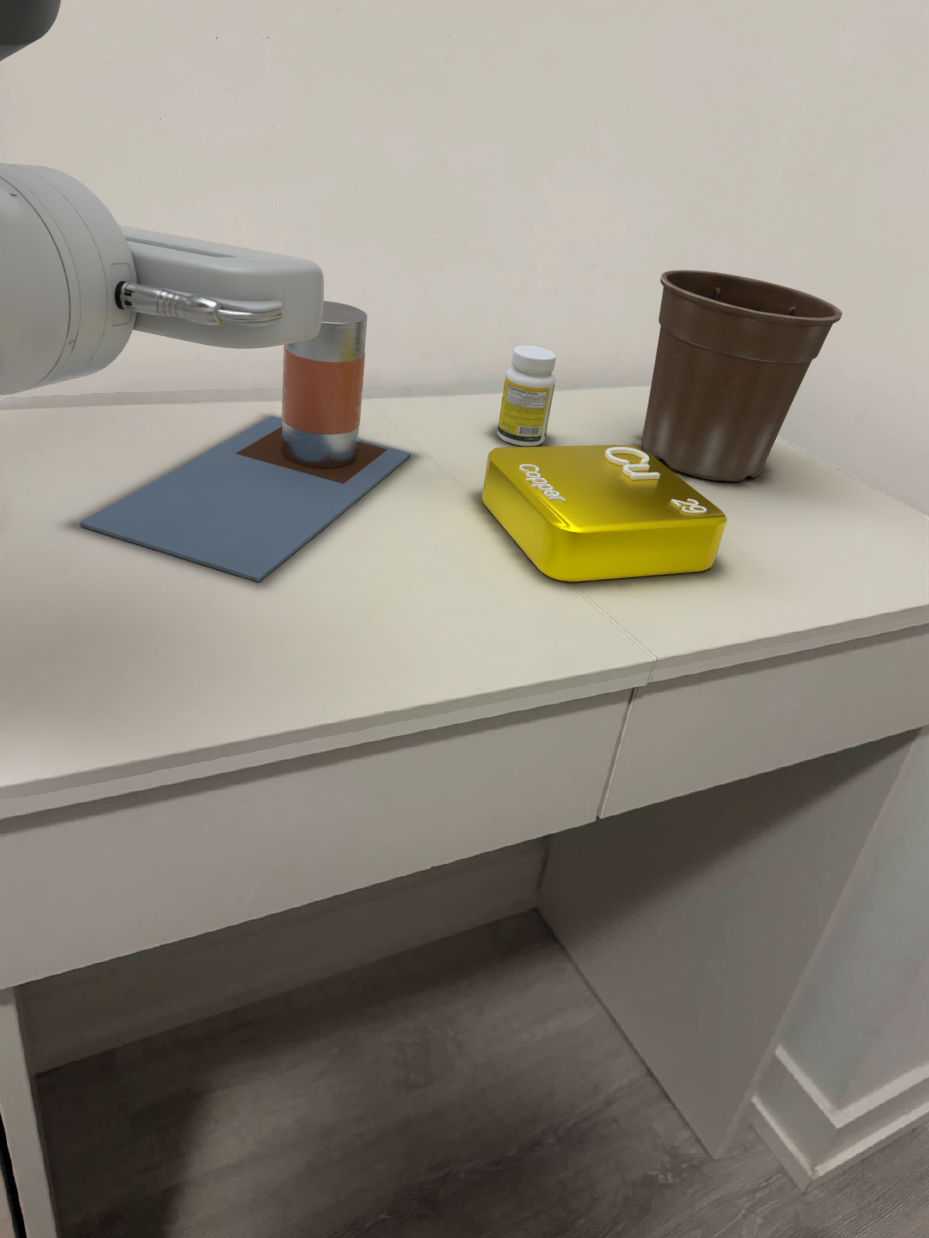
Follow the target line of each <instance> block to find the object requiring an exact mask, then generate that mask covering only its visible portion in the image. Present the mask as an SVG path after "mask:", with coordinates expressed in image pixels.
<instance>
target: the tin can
mask: <svg viewBox="0 0 929 1238" xmlns="http://www.w3.org/2000/svg"><path fill="white" fill-rule="evenodd" d="M367 325H368V314H367V313H366V312H365V311H364V310H362V309H360V308H358V307H356V306H353V305H349V304H346V303H341V302H335V301H329V300H324V302H323V313H322V320H321V326H320V330H319V333H318V334H317V336H316V337H314V338H312V339H310V340H306V341H302V342H296V343H291V344H285V345H283V362H282V396H281V397H282V398H281V399H282V400H281V419H282V454H283V455H284V456H285V457H286V458H287V459H288V460H290V461H292V462H294V463H297V464H299V465H303V466H307V467H313V468H338V467H343V466H347V465H349V464H351V463H353V462H354V461H355V460H356V458H357V449H358V439H359V435H360V425H361V418H362V417H361V416H362V401H363V389H364V376H365V375H364V373H365V365H366V364H365V363H366V340H367V327H368V326H367Z"/></svg>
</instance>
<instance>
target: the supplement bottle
mask: <svg viewBox="0 0 929 1238" xmlns="http://www.w3.org/2000/svg"><path fill="white" fill-rule="evenodd" d="M556 358H557V355H556V354H555V352H553V351H551V350H549V349H547V348H544V347H539V346H534V345H519V346H516V347H514V348H513V351H512V357H511V361H510V362H511V367H510V368H509V369H507V371H506V373H505V378H504V384H503V389H502V390H503V391H502V397H501V405H500V411H499V417H498V424H497V431H496V432H497V433H496V434H497V436H498V437H499V438H500V440H502V441H504V442H506V443H509V444H512V445H516V446H519V447H537V446H539V445H541V444H543V443H544V442H545V440H546V436H547V431H548V425H549V419H550V415H551V409H552V403H553V398H554V392H555V387H556V377H555V375H554V373H553V372H554V369H555V364H556Z"/></svg>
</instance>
